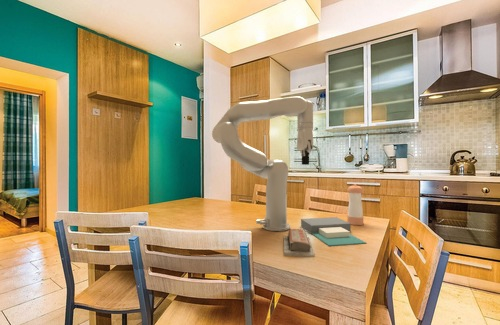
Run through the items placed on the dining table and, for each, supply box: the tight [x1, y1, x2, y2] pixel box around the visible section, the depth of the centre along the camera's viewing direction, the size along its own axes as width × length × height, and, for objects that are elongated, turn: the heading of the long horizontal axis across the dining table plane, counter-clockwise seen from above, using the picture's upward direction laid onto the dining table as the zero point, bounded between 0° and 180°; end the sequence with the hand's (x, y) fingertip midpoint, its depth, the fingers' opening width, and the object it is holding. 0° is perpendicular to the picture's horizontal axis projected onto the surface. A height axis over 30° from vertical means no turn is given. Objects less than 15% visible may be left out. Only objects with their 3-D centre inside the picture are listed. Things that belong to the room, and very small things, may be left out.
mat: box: [311, 233, 367, 247], centre depth 97 cm, size 15×15×1 cm
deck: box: [300, 216, 352, 235], centre depth 111 cm, size 18×12×4 cm, turn 99°
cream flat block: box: [319, 227, 351, 238], centre depth 101 cm, size 10×7×2 cm
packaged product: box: [283, 228, 316, 258], centre depth 88 cm, size 18×5×10 cm
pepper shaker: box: [346, 183, 364, 226], centre depth 119 cm, size 7×7×19 cm
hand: (305, 164), depth 119 cm, fingers closed
